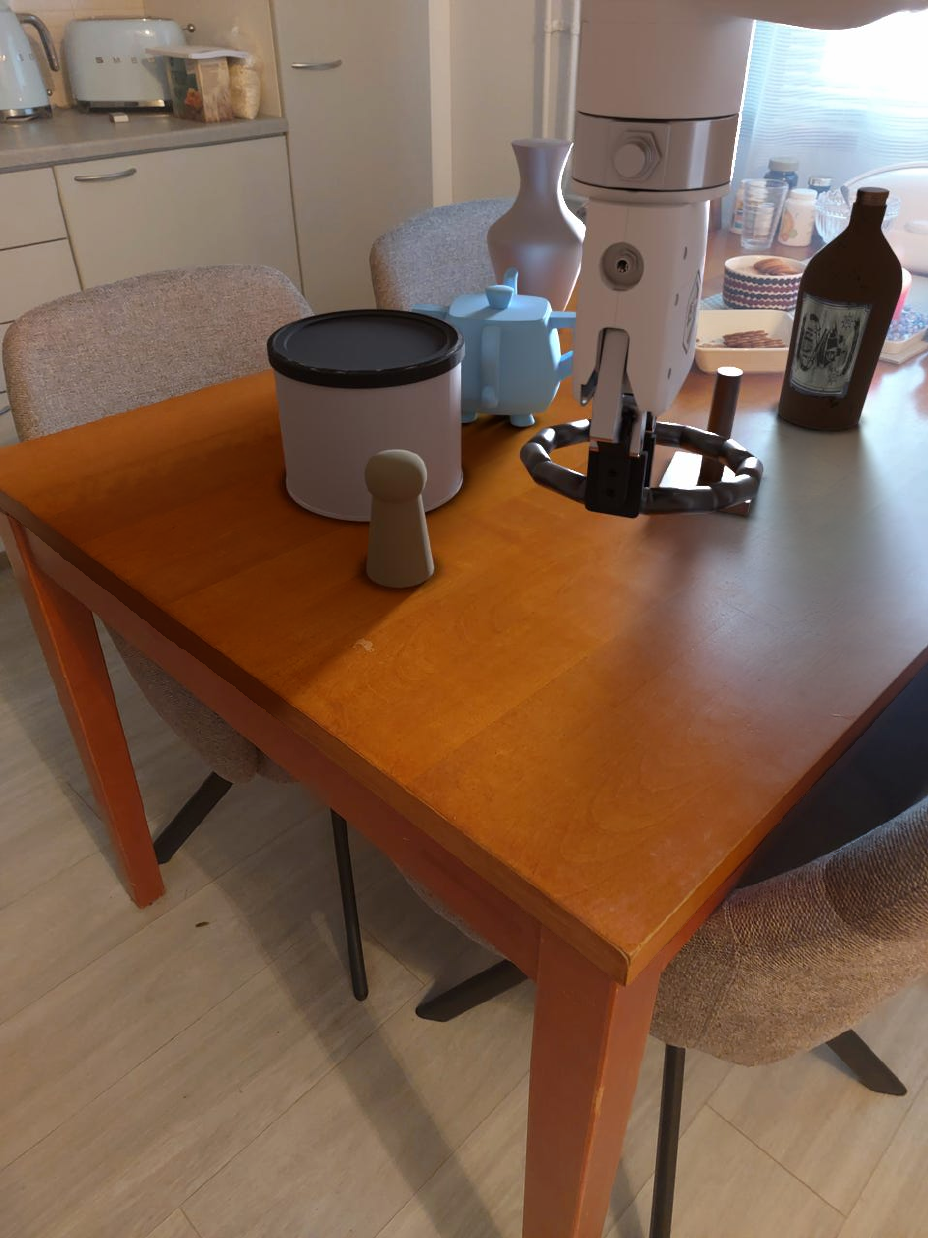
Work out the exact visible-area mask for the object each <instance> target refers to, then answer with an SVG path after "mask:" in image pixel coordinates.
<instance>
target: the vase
mask: <svg viewBox="0 0 928 1238" xmlns="http://www.w3.org/2000/svg"><path fill="white" fill-rule="evenodd" d="M510 145H511V148H512V150H513V153H514V156H515V159H516V164H517V168H518V173H519V180H520V181H519V190H518V194H517V196H516V198H515V201H514V202H513V204H512V205H511V207H510V208H509V209H508V210H507V211H506V212H505V213H504V214H502V215H501V216H500V217H498V218H497V219H496V220H495V221H494V222H493V223H492V224H491V225H490V227H489V229H488V231H487V234H486V245H487V250H488V254H489V259H490V263H491V267H492V271H493V275H494V279H495V282H496V285H502V283H503V277H504V273H505V271H506V270H507V269H508V268H511V267H513V268H516V269H517V272H518V275H517V295H528V296H536V297H542V298H545V299H547V300H548V301H549V303H550V306H551V309H552V311H561V312H565V310H566V308H567V306H568V303H569V301H570V299H571V297H572V293H573V291H574V289H575V286H576V283H577V280H578V279H579V278H578V277H579V276H580V267H581V258H582V242H583V240H584V232H585V224H583V222H582V221H581V220H580V219H579V218H578V217H577V216H576V215H574V214H573V213H572V212H571V211H570V210H569V209H568V207H567V205H566V203H565V201H564V198H563V195H562V189H561V186H562V185H561V183H562V176H563V173H564V169H565V166H566V164H567V161H568V157H569V155H570V152H571V149H572V148H573V141H569V140H566V139H561V138H559V139H558V138H546V137H545V138H544V137H543V138H542V137H540V138H537V137H536V138H523V139H515V140H513V141H511V143H510Z"/></svg>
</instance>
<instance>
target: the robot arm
mask: <svg viewBox="0 0 928 1238" xmlns="http://www.w3.org/2000/svg"><path fill="white" fill-rule="evenodd" d="M926 10H928V0H580V14H579V15H580V16H579V30H578V31H579V32H578V33H579V34H578V50H577V51H578V52H577V67H576V68H577V69H576V88H575V103H574V105H575V106H574V109H575V111H574V122H573V123H574V124H573V138H572V139H573V141H572V142H573V144H572V156H571V157H572V160H571V176H570V189H571V191H572V192H574V193H575V194H576V195H579V196H582V197H585V198H588V202H587V210H586V217H585V224H584V226H585V232H584V240H583V242H582V258H581V267H580V272H579V275H578V277H579V278H578V287H577V288H578V289H577V297H576V309H575V312H576V318H575V331H574V344H573V343H572V350H573V362H572V375H571V391H572V393H571V394H572V397H573V399H574V400H575V402H576V403H577V404H578V405H579V406H581V407H586V406H587V405H588V404H589V402H590V401H592V404H591V418H590V419H591V427H590V436H589V437H590V442H589V446H588V453H587V454H588V455H587V466H586V467H587V468H586V477H587V479H586V491H585V505H584V508H585V510H586V511H588V512H591V513H592V512H593V513H598V514H603V515H608V516H615V517H620V518H626V519H637V518H638V517H639V516H640V514H639V513H640V511H641V505H642V496H643V488H644V487H648V488H651V482H652V476H653V469H654V468H653V467H654V458H655V451H656V445H655V444H656V436H657V435H653V434H646V433H645V431H646V432H654V430H655V426H656V422H658V417H660V416H662V415H664V414H666V412H668V410H669V409H670V408H671V407H672V405H673V403H674V402H675V400H676V398H677V396H678V395H679V393H680V392H681V389H682V387H683V385H684V383H685V382H686V379H687V377H688V375H689V373H690V370H691V369H692V367H693V363H694V359H695V354H696V348H697V347H696V346H697V338H698V330H699V329H698V327H699V319H700V318H699V317H700V307H701V300H702V299H701V298H702V292H703V282H704V281H703V280H704V273H705V264H706V257H707V256H706V254H707V245H708V244H707V243H708V235H709V223H710V221H709V220H710V205H711V204H710V202H711V201H715V200H717V199H722V198H725V197H726V196H728V195H729V193H731V186H732V178H733V173H734V167H735V162H736V161H735V160H736V155H737V154H736V153H737V146H738V140H739V134H740V128H741V127H740V126H741V121H742V113H741V112H742V111H743V109H744V108H743V107H744V100H745V94H746V88H747V82H748V74H749V68H750V62H751V56H752V55H751V54H752V49H753V42H754V35H755V29H756V22H757V21H759V22H765V23H769V24H774V25H779V26H785V27H790V28H796V29H801V30H807V31H808V30H809V31H814V32H824V33H825V32H827V33H842V32H850V31H857V30H861V29H866V28H869V27H874V26H878V25H882V24H888V23H893V22H897V21H902V20H904V19H908V18H910V17H912V16H913V17H914V16H916V15H917V14H920V13H922V12H924V11H926Z"/></svg>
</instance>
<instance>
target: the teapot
mask: <svg viewBox="0 0 928 1238" xmlns="http://www.w3.org/2000/svg"><path fill="white" fill-rule="evenodd" d="M517 275H518V272H517V269H516V268H513V267H511V268H508V269H507V270H506V271H505V273H504V277H503V283H502V285H497V284H496V285H491V286H488V287H486V288H485V290H484V292H485V293H484V292H483V293H481V292H479V293H477V292H476V293H463V294H459V295H458V296H457V297H456V298H454V299H453V301H452V302H451V304H450V305H449V306H448V305H447V306H446V305H438V304H428V303H414V305H413V306H412V308H411V311H410V312H416V313H422V314H427V315H431V316H434V317H437V318H441V319H443V320H446V321H448V322H450V323H452V324H454V325H455V326H457V327H458V328H459V329H460V330H461V331H462V332H463V334H464V337H465V355H464V358H463V360H462V361H461V424H462V423H463V424H465V423H467V424H468V423H472V422H474V421H476V419H477V416H478V414H482V415H495V416H498V415H499V416H509V422H510V424H511V425H513V426H516V427H530V426H532V425H534V424H535V419H534V417H533V415H536V414H537V415H538V414H542V413H544V412H547V410H548V409H549V407H550V406H551V404H552V402H553V401H554V399H555V397H556V395H557V392H558V389H559V387H560V384H561V382H562V381H564V380H566V379H567V378H569V377H572V362H573V349H572V350H569V351H568V352H566V353H564V354H562V355H561V346H560V339H559V338H560V337H559V334H558V330H559V329H568V328H572V345H573V344H574V331H575V318H576V311H564V312H561V311H552V309H551V306H550V303H549V301H548V300H547V299H545V298H542V297H536V296H528V295H517Z"/></svg>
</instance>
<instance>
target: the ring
mask: <svg viewBox="0 0 928 1238" xmlns="http://www.w3.org/2000/svg"><path fill="white" fill-rule="evenodd" d="M590 427H591V418H583V419H578V420H574V421H568V422H564V423H560V424H555V425H551V426H546V427H543V428H541V429H540V430H539V431H538V432H536V433H535V434H534V435H533V436H532V437H531V438H530V439H529V440H528V441H527V442H525V443H524V445H523V446H521V448H520V450H519V459H520V461H521V463H522V464H523V466H524V468H525V469H526V471H527V473H528V475H530V477H531V479H532V481H533V482H534V483H535V484H536V485H537V486H539V487H541V488H544V489H546V490H548V491H550V492H552V493H555V494H558V495H560V496H562V497H564V498H567V499H569V500H571V501H574V502H576V503H578V504H580V505H583V506H585V491H586V479H587V475H584V474H582V473H579V472H577V471H574V470H571V469H569V468H567V467H565V466H562V465H559V464H557V463H554V462H553V461H552V459H551V458H550V457H549V455H550V454H551V453H552V452H553V451H554V450H558V449H563V448H567V447H571V446H575V445H579V444H585V443H590V437H589V436H590ZM645 433H646V434H653V435H657V436H656V444H655V446H662V447H669V448H675V449H681V450H684V451H688V452H689V453H692V454H696V455H702V456H705V457H708V458H711V459H714V460H717V461H719V462H721V463H723V464H724V465H725V466H726V467H727V468H729V469H730V470H731V471H732V472H733V473H735V476H734V478H731V479H727V480H724V481H721V482H718V483H715V484H712V485H708V486H703V487H659V486H658V487H659V488H658V487H650V488H648V487H644V488H643V496H642V505H641V511H640V513H639V516H640V515H641V516H678V515H679V516H681V515H683V516H684V515H709V514H710V515H711V514H713V513H716V512H720V511H719V510H722V509H725V508H728V507H731V506H734V505H736V504H739V503H742V502H745V501H748V500H750V499H752V500H753V499H754V498H755V497H756V496H757V494H758V491H759V488H760V485H761V481H762V477H763V474H764V464H763V462H762V461H761V460H760V459H759V458H757V457H756V456H755V455H754V454H752V453H751V452H750V451H748V449H746V448H744V446H742V445H741V444H739V443H738V442H737V441H735V440H733V439H731V438H730V439H727V438H724V437H721V436H718V435H715V434H712V433H708V432H706V431H705V430H702V429H699V428H696V427H692V426H690V425H683V424H678V423H671V422H670V423H669V422H663V421H656V426H655V430H654V432H646V431H645Z"/></svg>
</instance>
